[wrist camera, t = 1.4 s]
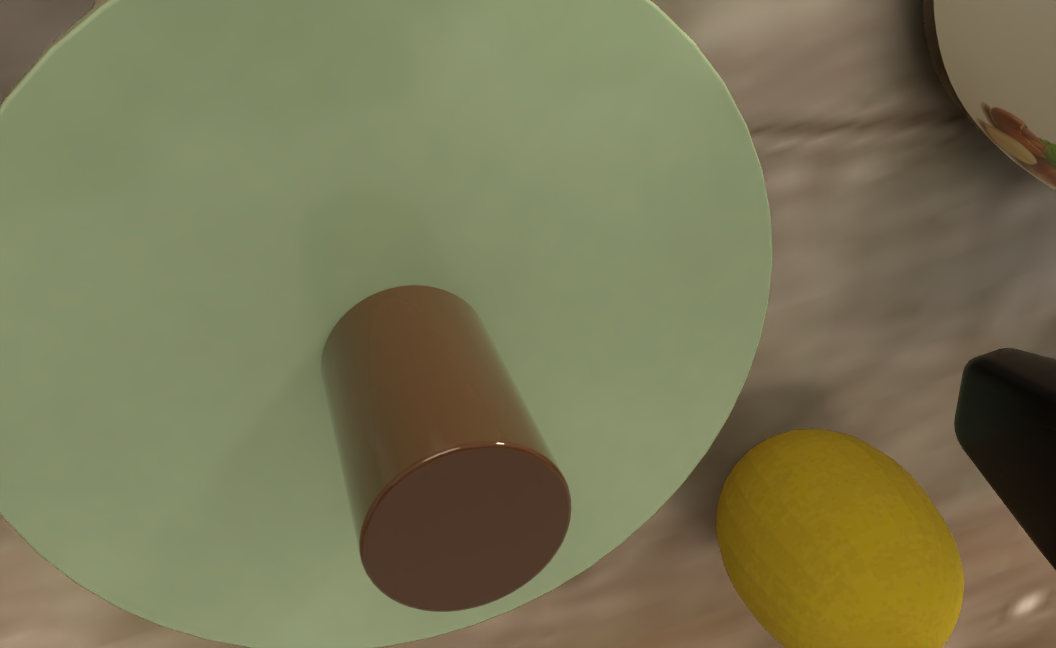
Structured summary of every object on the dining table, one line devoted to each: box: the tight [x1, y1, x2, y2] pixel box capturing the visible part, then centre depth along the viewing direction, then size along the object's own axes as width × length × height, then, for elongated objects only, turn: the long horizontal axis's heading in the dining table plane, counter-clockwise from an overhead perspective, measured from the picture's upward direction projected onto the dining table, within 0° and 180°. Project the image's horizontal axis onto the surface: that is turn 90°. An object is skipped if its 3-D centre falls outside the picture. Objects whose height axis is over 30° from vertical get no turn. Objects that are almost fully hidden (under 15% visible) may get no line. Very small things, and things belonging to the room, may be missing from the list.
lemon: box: [716, 429, 964, 648], centre depth 25 cm, size 6×6×8 cm
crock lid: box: [0, 0, 773, 648], centre depth 13 cm, size 13×13×5 cm
